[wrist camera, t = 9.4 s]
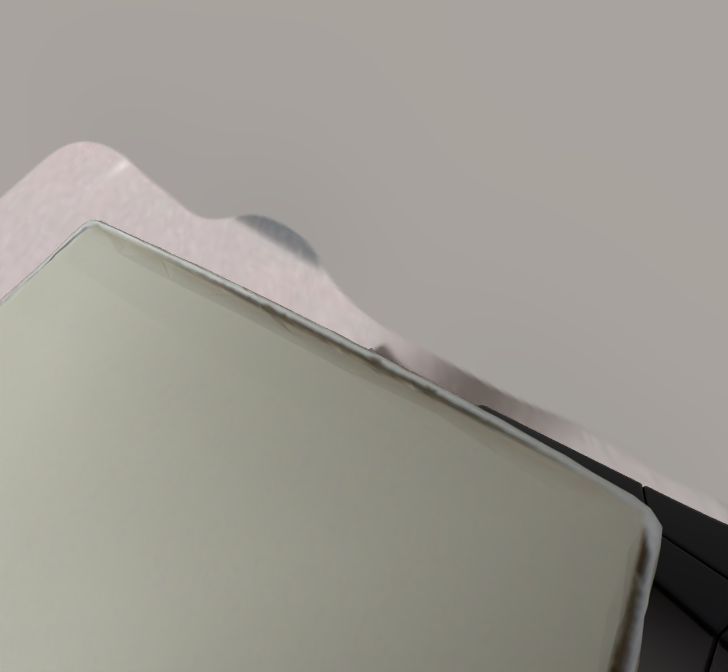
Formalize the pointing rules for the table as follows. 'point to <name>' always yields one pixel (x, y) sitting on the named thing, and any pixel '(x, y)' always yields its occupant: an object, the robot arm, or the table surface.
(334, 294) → the table surface
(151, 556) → the skincare box
